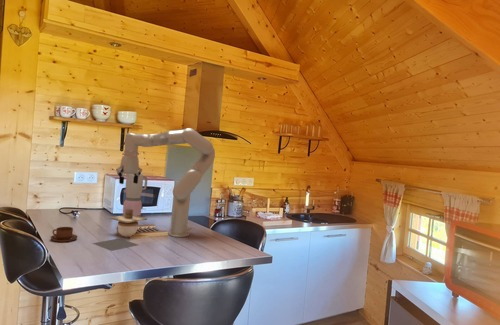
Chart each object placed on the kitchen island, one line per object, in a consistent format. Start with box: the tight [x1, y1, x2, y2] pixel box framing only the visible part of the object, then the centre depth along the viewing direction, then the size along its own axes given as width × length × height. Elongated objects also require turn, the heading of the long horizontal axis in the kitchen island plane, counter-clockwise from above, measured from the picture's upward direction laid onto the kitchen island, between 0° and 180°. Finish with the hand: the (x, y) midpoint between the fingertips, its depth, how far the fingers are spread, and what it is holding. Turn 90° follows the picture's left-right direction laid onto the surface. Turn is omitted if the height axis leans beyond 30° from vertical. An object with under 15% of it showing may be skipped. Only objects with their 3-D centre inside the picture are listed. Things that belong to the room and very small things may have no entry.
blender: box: [121, 173, 148, 217], centre depth 242 cm, size 16×12×32 cm
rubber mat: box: [92, 238, 139, 252], centre depth 175 cm, size 16×16×1 cm
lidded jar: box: [117, 221, 139, 238], centre depth 193 cm, size 11×11×9 cm
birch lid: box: [109, 209, 148, 223], centre depth 193 cm, size 14×14×5 cm
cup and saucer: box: [50, 226, 78, 243], centre depth 174 cm, size 12×12×6 cm
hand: (128, 183), depth 201 cm, fingers open, 9 cm apart
